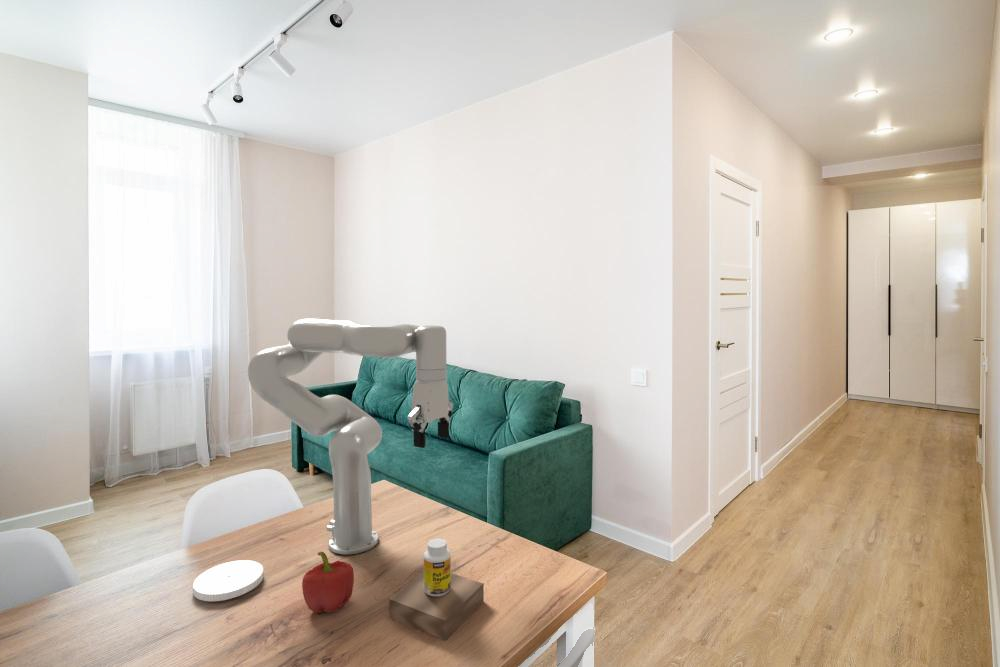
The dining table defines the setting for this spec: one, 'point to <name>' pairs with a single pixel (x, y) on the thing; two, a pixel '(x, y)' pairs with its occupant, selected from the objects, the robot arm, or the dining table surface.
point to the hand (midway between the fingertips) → (431, 441)
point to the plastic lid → (228, 580)
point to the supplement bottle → (437, 568)
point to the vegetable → (328, 585)
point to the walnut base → (436, 605)
